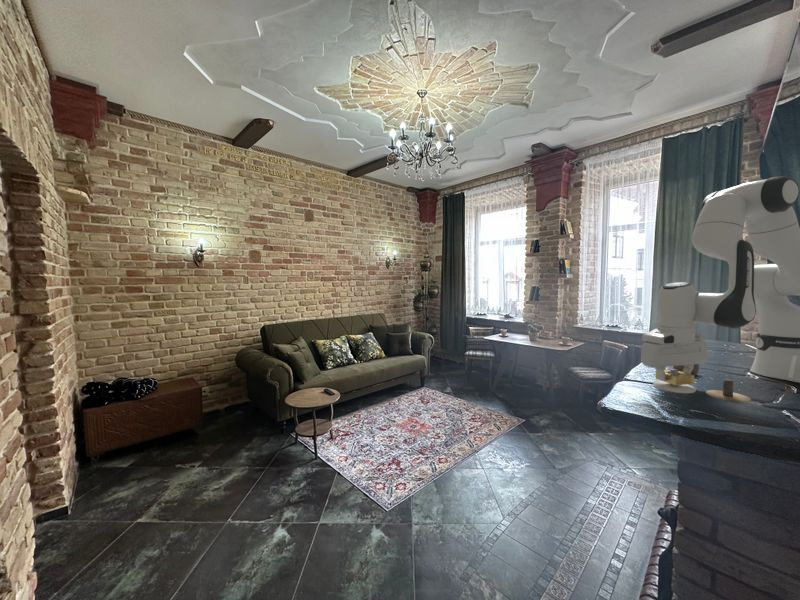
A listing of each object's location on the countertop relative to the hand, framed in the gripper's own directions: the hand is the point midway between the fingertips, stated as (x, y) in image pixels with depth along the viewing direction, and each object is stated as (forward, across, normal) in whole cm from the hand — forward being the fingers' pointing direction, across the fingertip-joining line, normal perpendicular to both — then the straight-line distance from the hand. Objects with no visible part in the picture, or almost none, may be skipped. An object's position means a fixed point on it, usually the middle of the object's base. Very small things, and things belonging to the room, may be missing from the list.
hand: (674, 379), depth 98 cm
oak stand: (+4, -8, +9) cm, 12 cm away
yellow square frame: (+1, 0, 0) cm, 1 cm away
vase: (+4, -18, -12) cm, 22 cm away
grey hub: (+4, 0, 0) cm, 4 cm away
